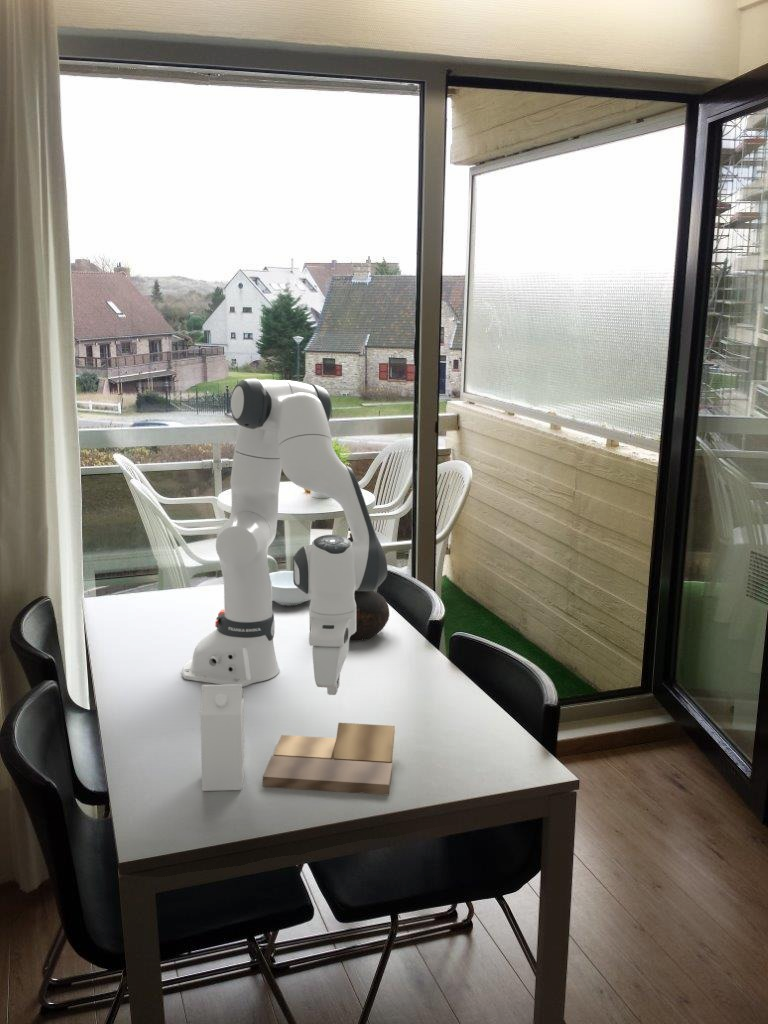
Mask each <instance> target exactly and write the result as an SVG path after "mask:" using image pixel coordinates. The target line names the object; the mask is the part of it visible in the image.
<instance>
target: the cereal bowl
mask: <svg viewBox="0 0 768 1024" xmlns="http://www.w3.org/2000/svg"><path fill="white" fill-rule="evenodd" d="M269 575H270V579H271V581H272V602H275V603H276V604H278V605H280V606H285V605H286V606H287V607H291V605H292V607H293V605H294V606H299V605H301V604H303V603H305V602H308V601H311V594H306V593H304V592H303V591H302V590H300V589H299V588H298V587H296V586H295V585H294V581H293V570H285V571H283V570H280V571H275V572H274V571H273V572H269ZM298 604H299V605H298Z"/></svg>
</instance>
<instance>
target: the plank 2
mask: <svg viewBox="0 0 768 1024" xmlns="http://www.w3.org/2000/svg"><path fill="white" fill-rule="evenodd" d="M395 729H396V728H395V725H383V724H368V723H367V724H366V723H353V722H352V723H351V722H350V723H349V722H338V724H337V730H336V732H337V733H336V737H335V738H336V744H335V751H334V758H333V760H349V761H365V762H381V763H392V764H393V757H394V755H393V754H394V744H395V734H396V733H395Z"/></svg>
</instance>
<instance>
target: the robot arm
mask: <svg viewBox="0 0 768 1024" xmlns="http://www.w3.org/2000/svg"><path fill="white" fill-rule="evenodd" d="M332 404H333V403H332V399H331V397H330V393H329V391H327V389H326V388H324V387H322V386H320V385H317V384H314V383H305V382H301V381H296V380H290V379H288V380H287V379H282V380H280V379H258V378H245V379H242V380H240V381H239V382H237V384H236V385H235V387H234V388H233V390H232V393H231V396H230V413H231V417H232V418H233V420H234V421H235V423H236V424H237V425H239V426H238V431H237V434H236V439H235V444H234V453H233V459H232V464H231V465H232V467H231V475H230V481H229V484H230V488H231V489H230V490H231V491H230V492H231V508H230V516H229V517H228V520H227V521H226V522H224V524H223V525H221V527H220V528H219V530H218V533H217V536H216V541H215V550H216V554H217V555H218V557H219V565H220V569H221V574H222V582H223V595H224V596H223V600H224V601H223V602H224V605H223V606H224V608H223V609H221V610H220V611H219V612H218V614H217V617H216V619H215V624H214V625H215V627H214V628H216V629H215V630H213V631H212V632H211V633H209V634H208V635H206V636H205V637H203V638H202V639H201V640H200V641H199V642H198V643H197V644H196V645H195V648H194V650H193V654H192V658H190V659H189V660H187V662H186V663H185V664H184V666H183V669H182V677H183V678H184V679H185V680H187V681H195V682H202V683H208V684H214V685H238V684H242V688H243V687H246V686H250V685H251V684H254V683H258V682H263V681H267V680H270V679H273V678H274V677H275V676H277V675H278V674H279V672H280V667H279V664H278V660H277V655H276V651H275V644H274V637H275V633H276V632H275V627H276V626H275V625H276V624H275V623H276V622H275V614H274V613H273V601H272V581H271V579H270V575H269V573H270V569H269V565H268V564H269V562H268V550H269V547H270V545H272V543H273V542H274V541H275V538H276V534H277V529H278V528H277V527H278V516H279V514H278V513H279V489H280V482H281V476H282V472H283V473H284V476H286V478H287V479H288V480H289V481H290V482H292V483H293V485H296V486H298V487H300V488H302V489H304V490H307V491H309V492H310V491H311V492H315V493H316V494H317V493H318V494H321V495H323V496H326V497H328V498H331V499H333V500H334V501H335V502H337V503H338V504H339V505H340V507H341V508H342V510H343V513H344V515H345V518H346V522H347V525H348V528H349V530H350V533H351V534H352V538H353V542H351V541H350V540H348V538H346V537H345V536H343V535H338V534H326V535H325V534H324V535H321V536H318V537H316V538H314V540H313V541H312V542H311V544H308V545H307V544H306V545H304V546H301V548H299V549H298V550H297V552H296V553H295V554H294V556H293V557H292V564H293V565H292V566H293V567H292V569H293V570H292V571H293V581H294V585H295V586H296V587H298V588H299V589H300V590H302V591H303V592H304V593H306V594H311V599H310V602H309V609H308V610H309V611H308V612H309V634H308V644H309V646H311V647H312V665H313V675H314V683H315V685H316V687H317V688H327V689H326V691H327V695H329V696H336V695H337V693H338V689H339V687H340V684H341V682H340V677H341V672H342V669H343V666H344V664H345V660H346V658H347V655H348V652H349V649H350V640H349V639H350V636H351V635H353V634H354V633H355V632H356V602H355V598H354V592H355V591H376V589H378V587H381V585H382V584H383V582H384V581H385V580H386V578H387V576H388V561H387V558H386V554H385V552H384V549H383V547H382V545H381V542H380V540H379V538H378V536H377V533H376V531H375V528H374V525H373V522H372V519H371V516H370V513H369V510H368V508H367V507H368V506H367V505H366V501H365V498H364V496H363V493H362V489H361V486H360V485H359V481H358V479H357V476H356V475H355V472H354V471H353V469H352V467H350V466H348V465H347V464H345V463H344V462H342V460H341V459H340V458H339V456H338V454H337V453H336V451H335V448H334V445H333V440H332V439H333V438H332V433H331V429H330V425H329V421H330V419H331V416H332V408H333V407H332V406H333V405H332Z"/></svg>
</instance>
